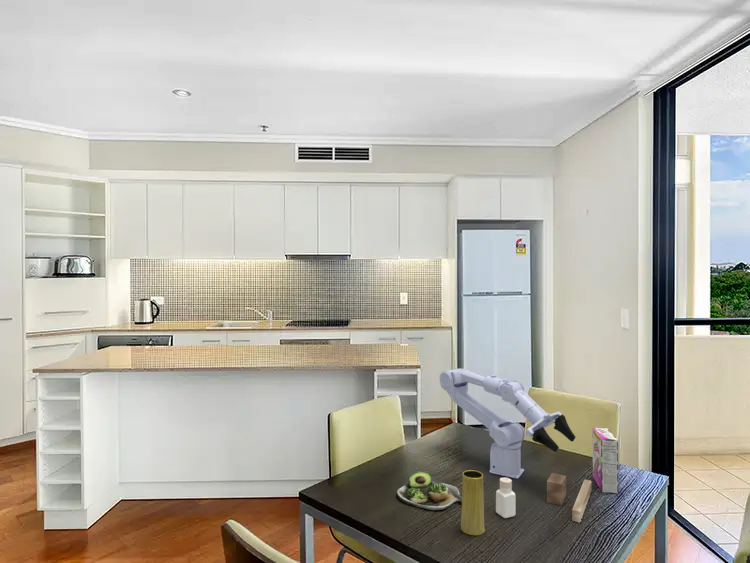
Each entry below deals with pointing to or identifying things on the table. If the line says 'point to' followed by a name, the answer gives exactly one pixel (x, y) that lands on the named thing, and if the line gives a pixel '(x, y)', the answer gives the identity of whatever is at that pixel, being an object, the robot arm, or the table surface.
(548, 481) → the walnut block
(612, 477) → the candy bar box
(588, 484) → the maple board
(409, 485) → the salad plate
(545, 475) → the table surface
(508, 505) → the pepper shaker
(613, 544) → the table surface
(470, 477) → the vase
